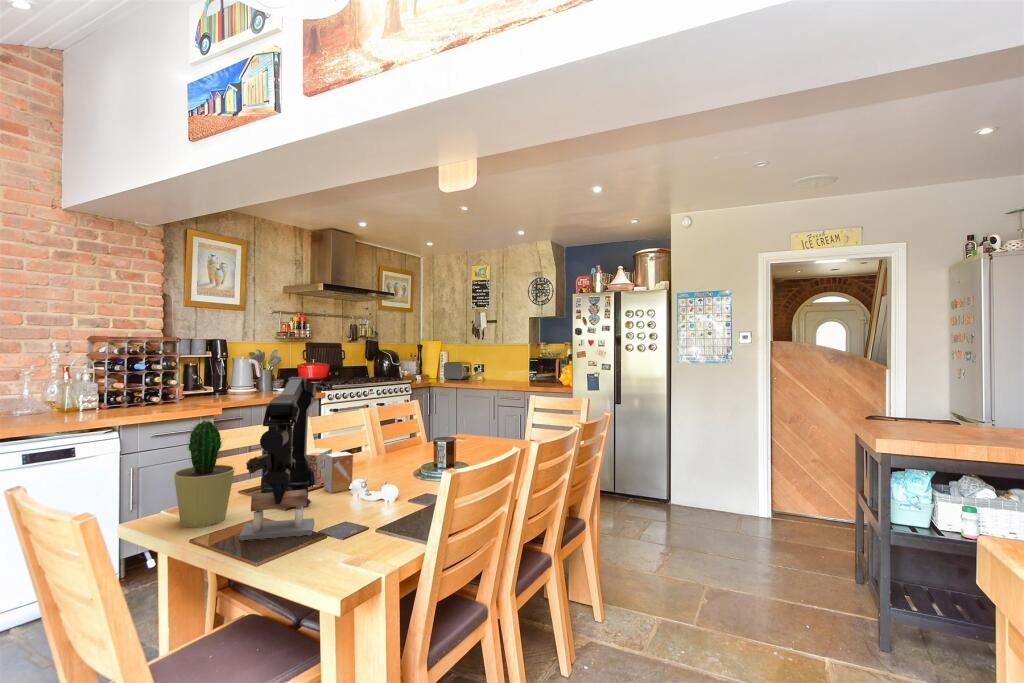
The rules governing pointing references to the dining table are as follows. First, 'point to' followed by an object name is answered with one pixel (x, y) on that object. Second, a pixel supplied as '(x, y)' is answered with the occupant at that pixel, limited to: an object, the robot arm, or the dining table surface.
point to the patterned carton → (319, 462)
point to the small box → (338, 471)
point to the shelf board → (289, 499)
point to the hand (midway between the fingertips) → (279, 500)
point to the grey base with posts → (277, 527)
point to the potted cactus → (203, 480)
